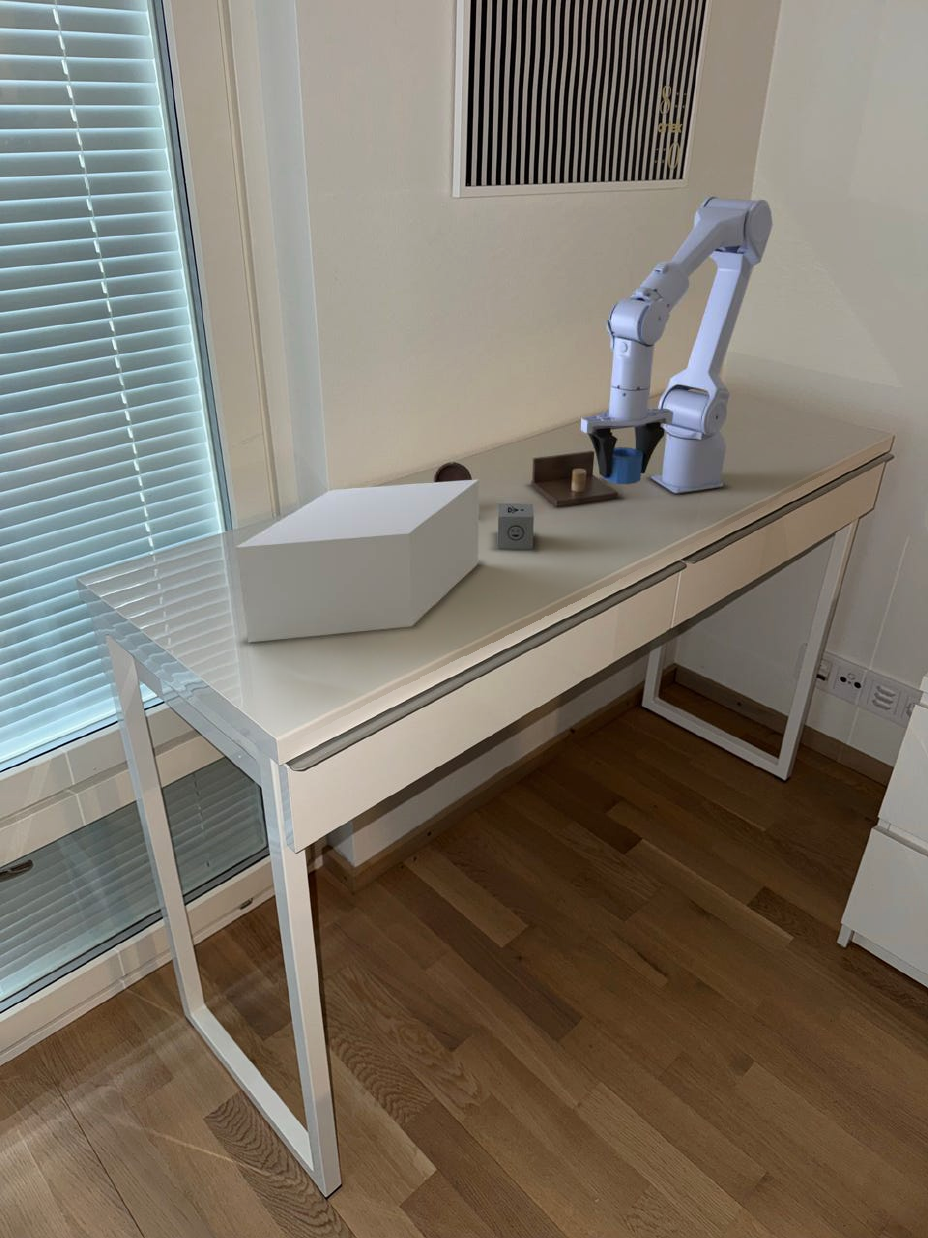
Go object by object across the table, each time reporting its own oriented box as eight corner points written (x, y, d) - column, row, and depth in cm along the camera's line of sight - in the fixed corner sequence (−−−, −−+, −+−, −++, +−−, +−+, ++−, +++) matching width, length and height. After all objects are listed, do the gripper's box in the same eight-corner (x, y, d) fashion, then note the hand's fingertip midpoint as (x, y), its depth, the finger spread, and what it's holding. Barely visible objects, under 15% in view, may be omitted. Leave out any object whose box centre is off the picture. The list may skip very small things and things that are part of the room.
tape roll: (628, 469, 144) (631, 445, 142) (647, 481, 139) (649, 456, 137) (597, 474, 142) (599, 449, 140) (614, 486, 137) (616, 460, 135)
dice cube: (497, 534, 135) (498, 503, 133) (531, 535, 135) (532, 503, 133) (497, 548, 131) (498, 516, 129) (532, 549, 131) (533, 517, 128)
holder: (589, 477, 156) (591, 449, 154) (617, 498, 148) (620, 468, 146) (531, 485, 153) (532, 457, 151) (556, 507, 145) (558, 477, 142)
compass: (419, 520, 140) (418, 475, 137) (437, 502, 147) (436, 458, 143) (469, 526, 138) (469, 481, 134) (484, 507, 144) (485, 464, 141)
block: (519, 586, 121) (522, 498, 115) (283, 673, 102) (272, 574, 96) (440, 542, 133) (439, 461, 127) (216, 614, 114) (203, 522, 108)
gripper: (659, 374, 139) (650, 459, 146) (573, 382, 135) (568, 470, 141) (684, 385, 133) (673, 474, 140) (596, 395, 129) (589, 485, 136)
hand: (622, 473), depth 140 cm, fingers closed on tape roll, 5 cm apart
